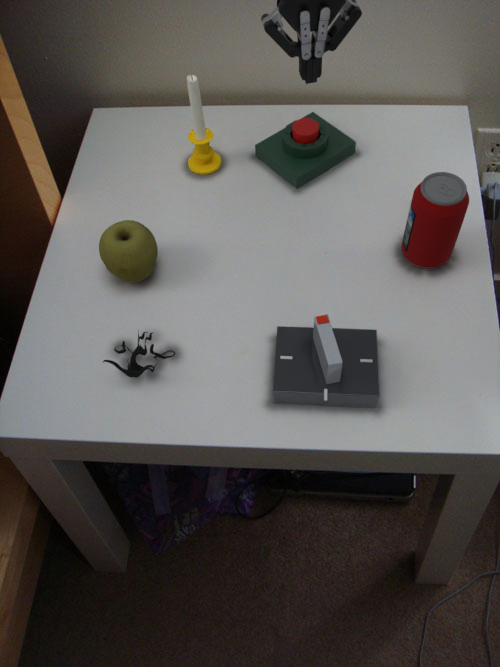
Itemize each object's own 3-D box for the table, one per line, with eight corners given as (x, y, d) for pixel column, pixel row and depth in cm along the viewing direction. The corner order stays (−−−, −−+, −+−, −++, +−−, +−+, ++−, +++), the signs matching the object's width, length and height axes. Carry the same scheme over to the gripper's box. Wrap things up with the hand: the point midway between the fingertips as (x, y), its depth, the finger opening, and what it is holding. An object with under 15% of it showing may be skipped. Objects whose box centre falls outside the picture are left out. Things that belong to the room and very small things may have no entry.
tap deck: (373, 337, 75) (376, 322, 72) (376, 414, 69) (379, 402, 67) (277, 333, 76) (277, 319, 73) (273, 409, 70) (272, 397, 68)
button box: (312, 122, 98) (313, 101, 95) (355, 153, 94) (357, 132, 90) (255, 156, 95) (254, 135, 91) (296, 189, 90) (297, 168, 87)
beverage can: (420, 226, 84) (437, 160, 74) (460, 251, 82) (484, 185, 72) (390, 253, 82) (403, 188, 72) (430, 280, 79) (450, 216, 69)
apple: (154, 241, 86) (144, 205, 80) (169, 282, 82) (159, 247, 76) (102, 257, 85) (88, 222, 79) (115, 299, 81) (101, 265, 75)
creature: (123, 338, 78) (102, 384, 73) (116, 308, 75) (93, 353, 69) (181, 345, 77) (164, 391, 72) (176, 314, 74) (158, 361, 68)
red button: (306, 123, 93) (306, 114, 91) (324, 136, 91) (324, 126, 89) (286, 135, 91) (286, 125, 90) (304, 148, 90) (304, 138, 88)
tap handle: (340, 382, 68) (343, 361, 64) (326, 384, 68) (328, 363, 64) (325, 335, 72) (327, 312, 68) (312, 337, 72) (314, 315, 68)
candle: (223, 152, 95) (212, 62, 82) (219, 175, 93) (207, 85, 80) (191, 152, 96) (175, 62, 83) (186, 174, 93) (169, 85, 80)
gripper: (260, -34, 65) (268, 104, 80) (379, -53, 66) (364, 88, 80) (249, -65, 69) (257, 72, 84) (360, -83, 70) (350, 56, 84)
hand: (310, 79), depth 82 cm, fingers closed
